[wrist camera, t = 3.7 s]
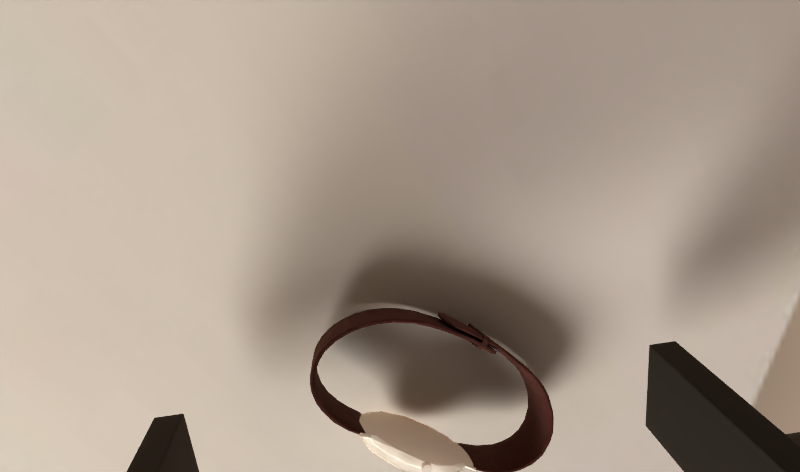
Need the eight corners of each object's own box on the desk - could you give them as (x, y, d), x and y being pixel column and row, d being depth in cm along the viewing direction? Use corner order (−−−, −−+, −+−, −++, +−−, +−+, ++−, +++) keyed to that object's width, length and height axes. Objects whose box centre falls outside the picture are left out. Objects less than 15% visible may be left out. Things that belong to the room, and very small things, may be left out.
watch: (291, 390, 18) (277, 468, 15) (344, 264, 17) (342, 317, 13) (498, 454, 19) (530, 539, 16) (560, 343, 18) (608, 409, 15)
